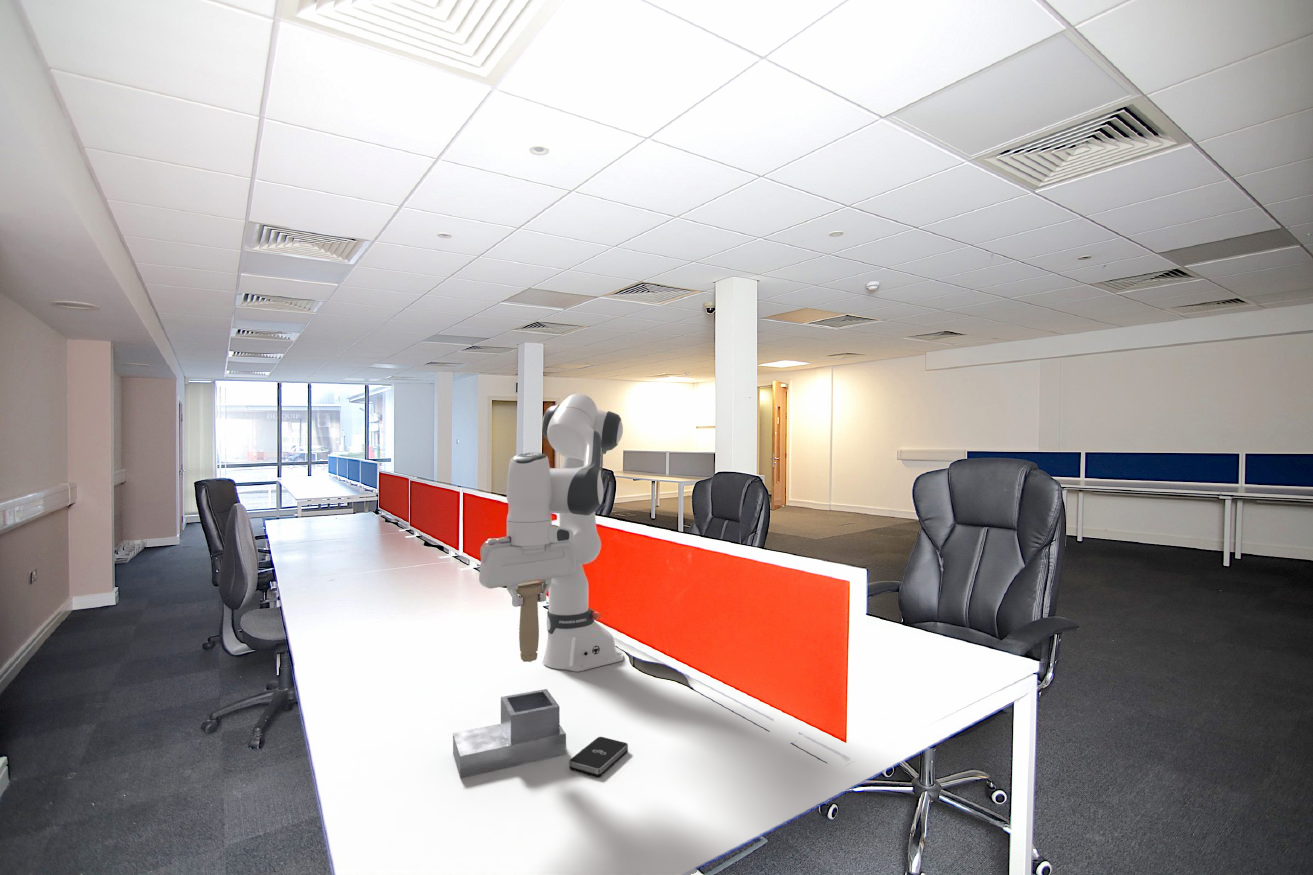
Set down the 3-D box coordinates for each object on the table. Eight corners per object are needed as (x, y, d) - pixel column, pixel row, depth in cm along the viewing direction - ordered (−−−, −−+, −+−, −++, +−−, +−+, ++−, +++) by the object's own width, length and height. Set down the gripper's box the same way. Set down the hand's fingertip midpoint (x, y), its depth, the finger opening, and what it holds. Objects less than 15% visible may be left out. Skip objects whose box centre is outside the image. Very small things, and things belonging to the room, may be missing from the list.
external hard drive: (629, 753, 121) (629, 743, 121) (599, 780, 112) (598, 769, 112) (599, 745, 125) (599, 735, 125) (567, 771, 115) (567, 761, 115)
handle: (512, 665, 120) (512, 588, 120) (521, 653, 126) (522, 580, 126) (536, 665, 120) (536, 588, 120) (544, 654, 126) (545, 581, 126)
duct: (552, 732, 130) (552, 687, 130) (566, 754, 121) (566, 705, 121) (453, 753, 121) (453, 704, 121) (460, 778, 112) (460, 725, 112)
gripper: (488, 541, 114) (488, 616, 114) (580, 530, 127) (580, 597, 127) (473, 537, 118) (473, 609, 118) (563, 527, 132) (563, 592, 132)
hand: (529, 603), depth 123 cm, fingers closed on handle, 4 cm apart
